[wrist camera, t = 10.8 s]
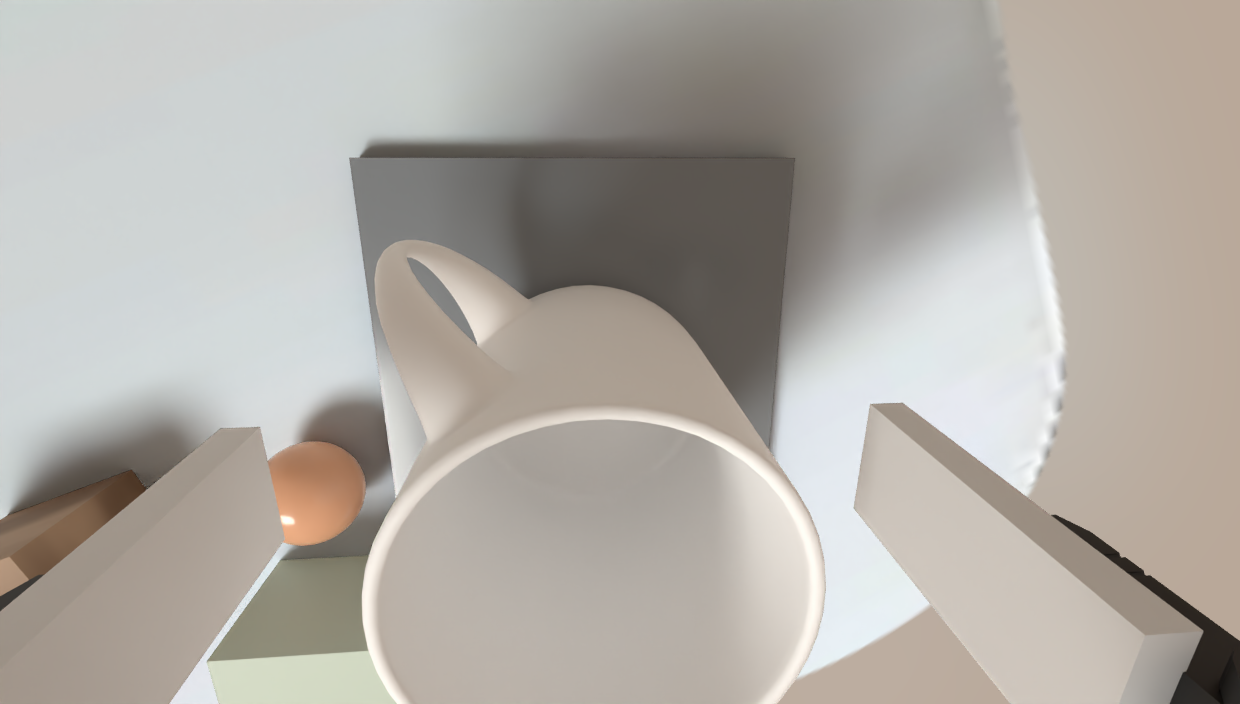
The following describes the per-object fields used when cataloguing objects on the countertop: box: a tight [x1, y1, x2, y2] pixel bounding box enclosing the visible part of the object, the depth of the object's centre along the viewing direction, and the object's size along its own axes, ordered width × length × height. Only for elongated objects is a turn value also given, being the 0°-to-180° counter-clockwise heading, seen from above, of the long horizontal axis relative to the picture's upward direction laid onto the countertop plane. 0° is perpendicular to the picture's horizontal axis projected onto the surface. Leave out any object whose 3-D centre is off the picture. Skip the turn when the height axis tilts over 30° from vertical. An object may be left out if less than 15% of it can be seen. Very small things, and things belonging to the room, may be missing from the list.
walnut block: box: [0, 470, 146, 596], centre depth 20 cm, size 5×5×5 cm
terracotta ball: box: [268, 441, 366, 546], centre depth 20 cm, size 4×4×4 cm
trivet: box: [349, 158, 795, 498], centre depth 21 cm, size 14×14×1 cm
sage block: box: [207, 555, 397, 704], centre depth 22 cm, size 4×6×5 cm, turn 90°
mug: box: [362, 240, 826, 704], centre depth 15 cm, size 9×12×11 cm
